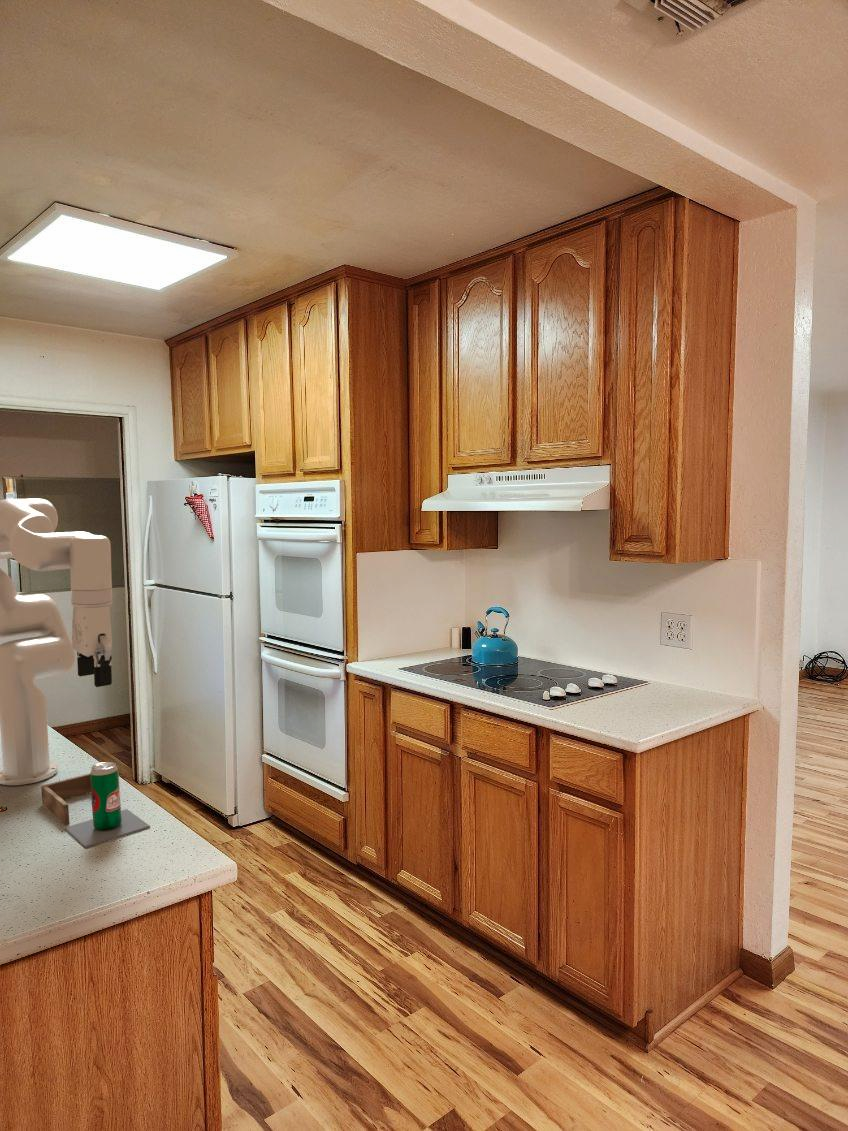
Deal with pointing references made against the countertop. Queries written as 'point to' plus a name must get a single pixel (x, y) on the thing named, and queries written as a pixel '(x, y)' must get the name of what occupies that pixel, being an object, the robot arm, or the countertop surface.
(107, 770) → the soda can
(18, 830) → the countertop surface
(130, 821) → the mat
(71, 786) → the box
